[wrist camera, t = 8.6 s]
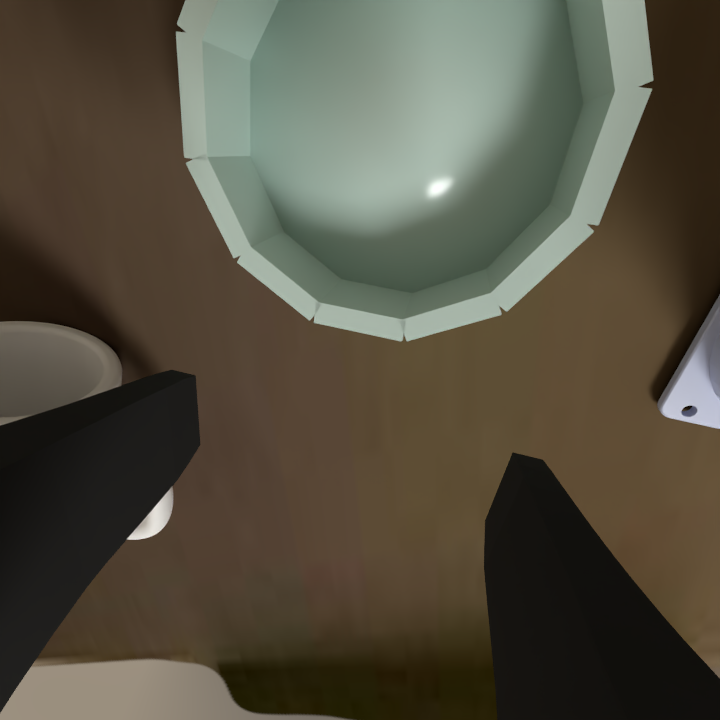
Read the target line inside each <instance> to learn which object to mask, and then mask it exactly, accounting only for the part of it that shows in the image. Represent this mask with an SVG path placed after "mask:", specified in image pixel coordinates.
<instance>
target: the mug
mask: <svg viewBox="0 0 720 720" xmlns="http://www.w3.org/2000/svg"><path fill="white" fill-rule="evenodd" d="M121 385H122V366H121V363H120V360H119V358H118V356H117V355H116V353H115V352H114V351H113V350H112V349H111V348H110V347H109V346H108V345H107V344H106V343H104V342H103V341H101V340H100V339H98V338H96V337H94V336H92V335H90V334H88V333H86V332H83V331H80V330H77V329H74V328H71V327H67V326H62V325H57V324H51V323H43V322H32V321H4V322H0V425H4V424H7V423H10V422H13V421H16V420H20V419H23V418H26V417H29V416H32V415H35V414H39V413H42V412H45V411H48V410H51V409H54V408H58V407H61V406H64V405H67V404H70V403H73V402H76V401H79V400H81V399H84V398H87V397H90V396H93V395H96V394H99V393H102V392H105V391H107V390H110V389H113V388H116V387H119V386H121ZM172 507H173V487H171V488H170V489H169V491H168V492H167V493H166V494H165V495H164V497H163V498H162V499H161V500H160V501H159V502H158V504H157V505H156V506H155V507H154V508H153V510H152V511H151V512H150V513H149V514H148V515H147V516H146V518H145V519H144V520H143V521H142V522H141V523H140V525H139V526H138V527H137V528H136V529H135V530H134V532H133V533H132V534H131V535H130V536H129V537H128V538H127V539H129V540H137V539H144V538H148V537H151V536H153V535H155V534H157V533H158V532H159V531H161V530H162V529H163V528H164V526H165V525H166V524H167V522H168V520H169V518H170V515H171V512H172Z"/></svg>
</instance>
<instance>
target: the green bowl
mask: <svg viewBox="0 0 720 720" xmlns="http://www.w3.org/2000/svg"><path fill="white" fill-rule="evenodd" d="M177 25H178V26H179V27H180V28H182V29H183V30H184V31H185V32H186V33H185V32H177V31H176V43H177V58H178V73H179V88H180V102H181V117H182V132H183V147H184V157H185V158H191V159H193V160H191V161H189V162H187V163H186V165H187V167H188V169H189V171H190V173H191V175H192V177H193V179H194V181H195V183H196V184H197V186H198V188H199V190H200V192H201V194H202V196H203V198H204V200H205V202H206V204H207V206H208V208H209V210H210V212H211V214H212V216H213V218H214V220H215V222H216V224H217V226H218V228H219V230H220V232H221V234H222V236H223V238H224V240H225V242H226V244H227V246H228V248H229V250H230V252H231V254H232V256H233V258H235V257H238V256H240V255H241V256H240V258H239V260H238V262H237V263H238V264H240V265H241V266H242V267H243V268H245V269H246V270H247V271H248V272H250V273H251V274H252V275H253V276H255V277H256V278H257V279H258V280H260V281H261V282H262V283H263V284H265V285H266V286H267V287H268V288H270V289H271V290H272V291H273V292H275V293H276V294H277V295H278V296H280V297H281V298H282V299H283V300H285V301H286V302H287V303H288V304H290V305H291V306H292V307H293V308H295V309H296V310H297V311H298V312H299V313H301V314H302V315H303V316H304V317H306V318H307V319H308V320H309V321H310V320H311V319H312V318H313V316H314V315H315V316H314V323H318V324H322V325H327V326H332V327H336V328H341V329H346V330H350V331H355V332H360V333H365V334H369V335H374V336H379V337H383V338H388V339H393V340H397V341H402V340H403V336H404V335H405V338H406V341H410V340H413V339H417V338H420V337H424V336H428V335H431V334H435V333H438V332H442V331H445V330H449V329H452V328H456V327H459V326H463V325H467V324H470V323H474V322H477V321H481V320H484V319H488V318H491V317H495V316H499V315H502V314H501V310H500V307H502V308H503V309H504V310H505V311H506V312H507V311H508V310H509V309H510V308H511V307H512V306H514V305H515V304H516V303H517V302H518V301H519V300H520V299H521V298H522V297H523V296H524V295H526V294H527V293H528V292H529V291H530V290H531V289H532V288H533V287H534V286H535V285H536V284H538V283H539V282H540V281H541V280H542V279H543V278H544V277H545V276H546V275H547V274H548V273H549V272H551V271H552V270H553V269H554V268H555V267H556V266H557V265H558V264H559V263H560V262H561V261H563V260H564V259H565V258H566V257H567V256H568V255H569V254H570V253H571V252H572V251H573V250H575V249H576V248H577V247H578V246H579V245H580V244H581V243H582V242H583V241H584V240H585V239H587V238H588V237H589V236H590V235H591V234H592V233H593V232H594V231H593V230H592V229H591V228H590V227H589V226H588V225H587V224H592V225H599V223H600V220H601V218H602V215H603V213H604V210H605V207H606V205H607V202H608V200H609V197H610V195H611V192H612V190H613V187H614V185H615V182H616V180H617V177H618V175H619V172H620V169H621V167H622V164H623V162H624V159H625V157H626V154H627V152H628V149H629V147H630V144H631V142H632V139H633V137H634V134H635V131H636V129H637V126H638V124H639V121H640V119H641V116H642V114H643V111H644V109H645V106H646V104H647V101H648V98H649V96H650V93H651V91H652V89H650V88H642V87H639V86H642V85H644V84H646V83H649V82H651V81H653V71H652V62H651V53H650V44H649V36H648V27H647V18H646V9H645V0H185V3H184V6H183V8H182V11H181V14H180V16H179V19H178V22H177Z"/></svg>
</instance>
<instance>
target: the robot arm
mask: <svg viewBox="0 0 720 720" xmlns="http://www.w3.org/2000/svg"><path fill="white" fill-rule="evenodd" d="M657 406H658V409H659V411H660V412H661V413H662V414H663V415H664V416H666V417H668V418H672V419H676V420H681V421H686V422H690V423H695V424H699V425H704V426H708V427H713V428H718V429H720V295H719V296H718V298H717V300H716V302H715V303H714V305H713V307H712V309H711V310H710V312H709V314H708V316H707V317H706V319H705V321H704V323H703V324H702V326H701V328H700V329H699V331H698V333H697V335H696V336H695V338H694V340H693V342H692V343H691V345H690V347H689V349H688V350H687V352H686V354H685V356H684V357H683V359H682V361H681V362H680V364H679V366H678V368H677V369H676V371H675V373H674V375H673V376H672V378H671V380H670V382H669V383H668V385H667V387H666V388H665V390H664V392H663V394H662V395H661V397H660V399H659V401H658V404H657ZM686 406H692V408H691V409H689V410H687V411H682V409H683V408H684V407H686ZM199 446H200V434H199V419H198V405H197V390H196V376H195V375H191V374H187V373H183V372H178V371H174V370H169V371H165V372H161V373H158V374H155V375H152V376H148V377H145V378H142V379H139V380H136V381H133V382H130V383H128V384H125V385H122V386H119V387H116V388H113V389H110V390H107V391H105V392H102V393H99V394H96V395H93V396H90V397H87V398H84V399H81V400H79V401H76V402H73V403H70V404H67V405H64V406H61V407H58V408H54V409H51V410H48V411H45V412H42V413H39V414H35V415H32V416H29V417H26V418H23V419H20V420H16V421H13V422H10V423H7V424H4V425H0V712H1V711H2V709H3V707H4V706H5V705H6V703H7V701H8V700H9V698H10V697H11V695H12V694H13V692H14V691H15V689H16V688H17V686H18V685H19V683H20V682H21V680H22V679H23V677H24V676H25V674H26V673H27V671H28V670H29V669H30V667H31V666H32V664H33V663H34V661H35V660H36V658H37V657H38V655H39V654H40V652H41V651H42V650H43V648H44V647H45V645H46V644H47V642H48V641H49V639H50V638H51V636H52V635H53V633H54V632H55V631H56V629H57V628H58V627H59V625H60V624H61V622H62V621H63V620H64V618H65V617H66V615H67V614H68V613H69V611H70V610H71V608H72V607H73V606H74V604H75V603H76V602H77V600H78V599H79V597H80V596H81V595H82V593H83V592H84V590H85V589H86V588H87V586H88V585H89V584H90V583H91V581H92V580H93V579H94V578H95V576H96V575H97V574H98V573H99V571H100V570H101V569H102V568H103V566H104V565H105V564H106V563H107V562H108V560H109V559H110V558H111V557H112V556H113V555H114V553H115V552H116V551H117V550H118V549H119V548H120V547H121V545H122V544H123V543H124V542H125V541H126V540H127V538H128V537H129V536H130V535H131V534H132V533H133V532H134V530H135V529H136V528H137V527H138V526H139V525H140V523H141V522H142V521H143V520H144V519H145V518H146V516H147V515H148V514H149V513H150V512H151V511H152V510H153V508H154V507H155V506H156V505H157V504H158V502H159V501H160V500H161V499H162V498H163V497H164V495H165V494H166V493H167V492H168V491H169V489H170V488H171V487H172V486H173V485H174V483H175V482H176V481H177V480H178V478H179V477H180V475H181V474H182V472H183V471H184V469H185V468H186V466H187V465H188V463H189V462H190V460H191V459H192V457H193V455H194V454H195V452H196V451H197V449H198V447H199ZM484 571H485V583H486V594H487V605H488V615H489V625H490V636H491V646H492V656H493V666H494V677H495V687H496V702H497V718H498V720H720V678H718V676H717V675H716V674H715V673H714V672H713V671H712V670H711V669H710V668H709V667H708V665H707V664H706V663H705V662H704V661H703V660H702V659H701V658H700V657H699V656H698V655H697V654H696V652H695V651H694V650H693V649H692V648H691V647H690V646H689V645H688V644H687V643H686V642H685V641H684V640H683V638H682V637H681V636H680V635H679V634H678V633H677V632H676V630H675V629H674V628H673V627H672V626H671V625H670V624H669V622H668V621H667V620H666V619H665V618H664V617H663V616H662V614H661V613H660V612H659V611H658V610H657V608H656V607H655V606H654V605H653V604H652V602H651V601H650V600H649V599H648V598H647V596H646V595H645V594H644V593H643V592H642V590H641V589H640V588H639V587H638V586H637V584H636V583H635V582H634V581H633V580H632V578H631V577H630V576H629V575H628V573H627V572H626V571H625V570H624V568H623V567H622V566H621V564H620V563H619V562H618V561H617V559H616V558H615V557H614V556H613V554H612V553H611V552H610V550H609V549H608V548H607V547H606V545H605V544H604V543H603V541H602V540H601V539H600V537H599V536H598V535H597V533H596V532H595V531H594V529H593V528H592V527H591V525H590V524H589V523H588V521H587V520H586V518H585V517H584V516H583V514H582V513H581V512H580V510H579V509H578V507H577V506H576V505H575V503H574V502H573V501H572V499H571V498H570V496H569V495H568V494H567V492H566V491H565V489H564V488H563V487H562V485H561V484H560V482H559V481H558V480H557V478H556V477H555V475H554V474H553V473H552V471H551V470H550V469H549V467H548V466H547V465H546V463H545V462H544V461H543V460H541V459H537V458H533V457H529V456H525V455H521V454H517V453H512V456H511V458H510V461H509V463H508V466H507V468H506V471H505V473H504V475H503V478H502V480H501V483H500V485H499V488H498V490H497V493H496V495H495V498H494V500H493V503H492V505H491V508H490V510H489V513H488V515H487V518H486V520H485V545H484Z"/></svg>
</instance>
